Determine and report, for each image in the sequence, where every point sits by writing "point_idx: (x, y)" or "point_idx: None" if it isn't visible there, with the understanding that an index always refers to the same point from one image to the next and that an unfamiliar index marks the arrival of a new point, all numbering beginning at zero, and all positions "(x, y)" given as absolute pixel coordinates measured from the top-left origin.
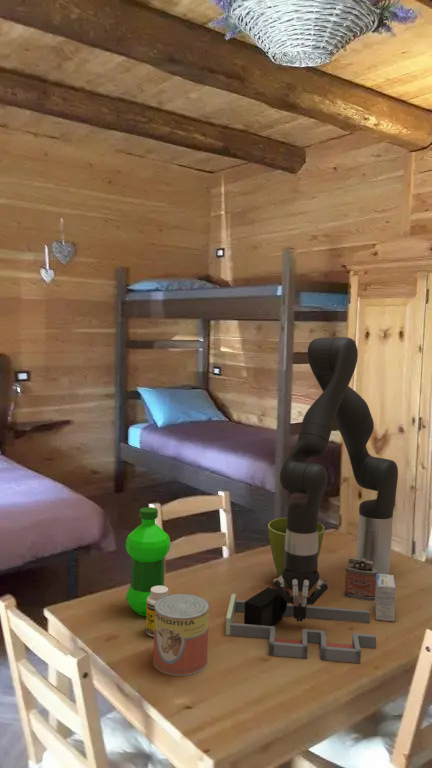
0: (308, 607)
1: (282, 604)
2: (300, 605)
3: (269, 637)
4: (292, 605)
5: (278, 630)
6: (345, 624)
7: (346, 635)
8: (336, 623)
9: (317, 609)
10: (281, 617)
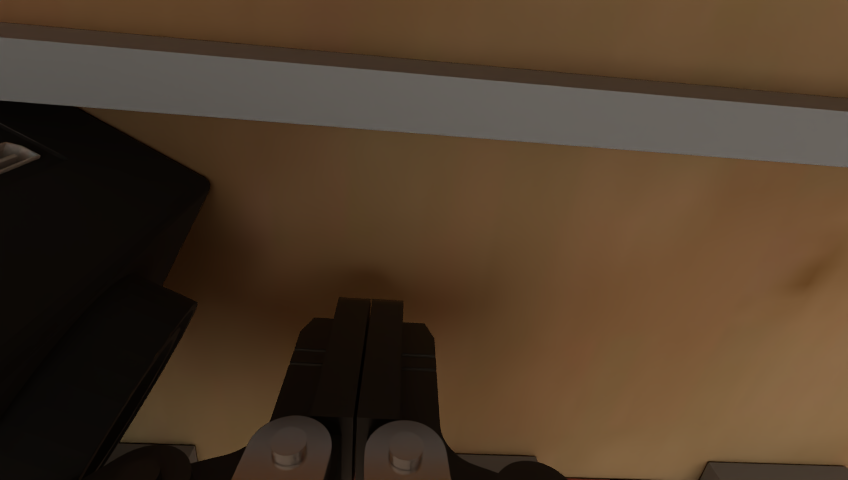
0: (497, 137)
1: (124, 278)
2: (361, 478)
3: None
4: (281, 93)
5: (206, 361)
6: (802, 210)
7: (721, 373)
8: (727, 200)
9: (606, 146)
10: (193, 212)
